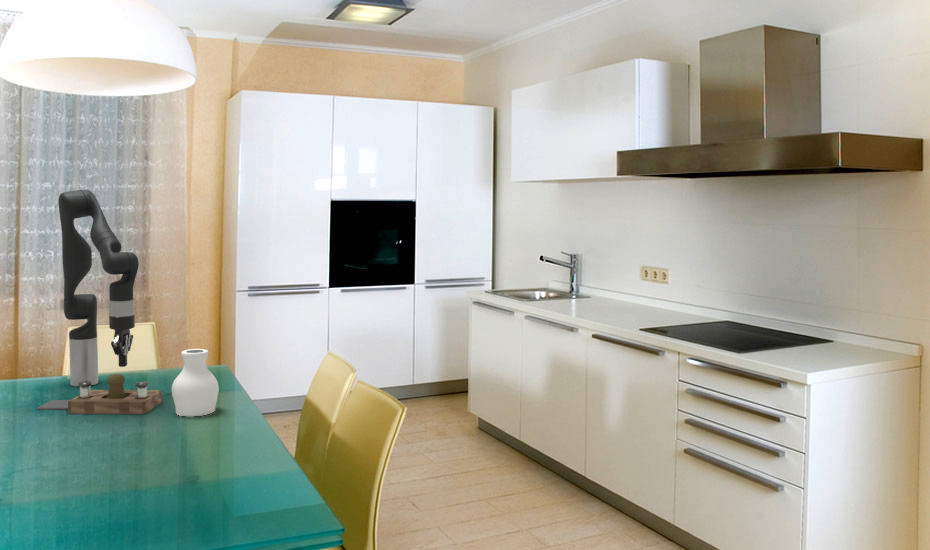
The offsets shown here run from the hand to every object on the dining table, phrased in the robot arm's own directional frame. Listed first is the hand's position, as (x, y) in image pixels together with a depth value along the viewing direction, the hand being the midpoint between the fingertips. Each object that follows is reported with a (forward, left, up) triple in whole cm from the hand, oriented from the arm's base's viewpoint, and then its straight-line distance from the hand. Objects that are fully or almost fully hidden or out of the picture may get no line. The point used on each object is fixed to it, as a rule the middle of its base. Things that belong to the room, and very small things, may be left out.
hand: (122, 366), depth 248 cm
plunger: (+2, -11, -13) cm, 17 cm away
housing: (0, -2, -14) cm, 14 cm away
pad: (-2, -21, -14) cm, 25 cm away
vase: (+5, +25, -14) cm, 29 cm away
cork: (0, -2, -14) cm, 14 cm away
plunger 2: (+2, +7, -13) cm, 15 cm away
